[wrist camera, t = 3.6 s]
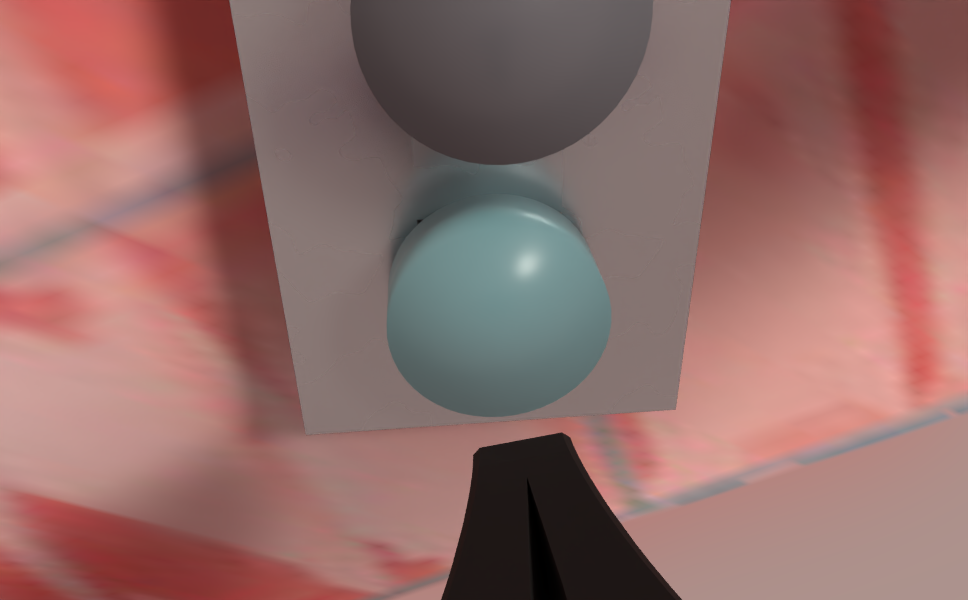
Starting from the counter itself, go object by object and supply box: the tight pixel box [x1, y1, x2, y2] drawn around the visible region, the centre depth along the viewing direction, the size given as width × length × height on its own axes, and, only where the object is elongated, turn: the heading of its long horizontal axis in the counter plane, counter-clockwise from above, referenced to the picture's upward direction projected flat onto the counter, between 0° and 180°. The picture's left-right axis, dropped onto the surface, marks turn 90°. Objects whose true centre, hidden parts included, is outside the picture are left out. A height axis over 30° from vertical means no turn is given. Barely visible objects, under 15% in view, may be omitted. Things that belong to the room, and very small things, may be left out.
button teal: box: [387, 194, 611, 417], centre depth 17 cm, size 4×4×4 cm
